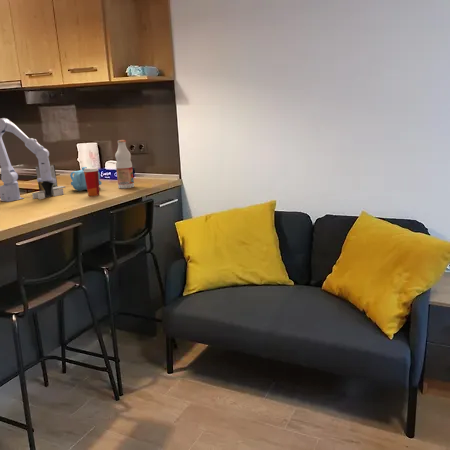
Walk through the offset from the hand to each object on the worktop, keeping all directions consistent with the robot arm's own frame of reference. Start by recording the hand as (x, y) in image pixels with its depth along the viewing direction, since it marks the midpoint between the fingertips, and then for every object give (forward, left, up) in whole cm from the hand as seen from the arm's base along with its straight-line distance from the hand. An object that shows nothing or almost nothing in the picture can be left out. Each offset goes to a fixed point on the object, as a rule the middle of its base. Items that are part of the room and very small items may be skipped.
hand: (48, 194), depth 259 cm
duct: (+1, +3, -1) cm, 3 cm away
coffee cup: (+13, -21, -2) cm, 25 cm away
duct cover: (+7, +3, +2) cm, 8 cm away
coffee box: (+10, +15, -2) cm, 18 cm away
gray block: (0, +3, -1) cm, 3 cm away
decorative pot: (+25, -1, -2) cm, 25 cm away
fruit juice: (+39, -20, -2) cm, 45 cm away
